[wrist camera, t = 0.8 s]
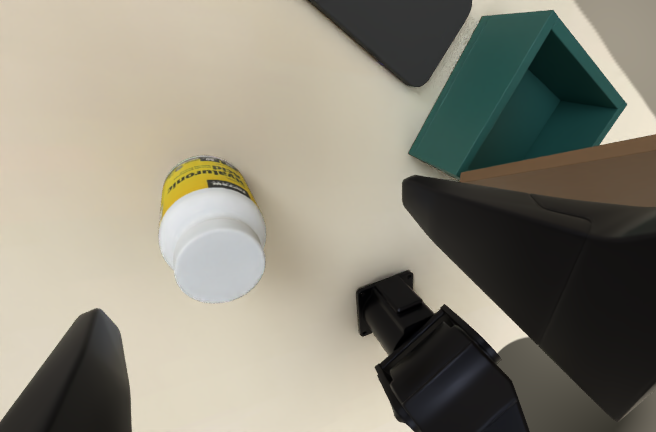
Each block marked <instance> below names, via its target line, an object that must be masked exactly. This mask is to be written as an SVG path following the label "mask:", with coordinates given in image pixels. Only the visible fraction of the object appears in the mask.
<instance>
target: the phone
mask: <svg viewBox="0 0 656 432" xmlns="http://www.w3.org/2000/svg"><path fill="white" fill-rule="evenodd" d="M309 1H310V2H311V3H312V4H313V5H315V6H316V7H317V8H318V9H319V10H320V11H322V12H323V13H324V14H325V15H326V16H327V17H329V18H330V19H331V20H332V21H333V22H334V23H335V24H337V25H338V26H339V27H340V28H341V29H342V30H344V31H345V32H346V33H347V34H348V35H349V36H351V37H352V38H353V39H354V40H355V41H356V42H357V43H359V44H360V45H361V46H362V47H363V48H364V49H366V50H367V51H368V52H369V53H370V54H371V55H373V56H374V57H375V58H376V59H377V60H378V61H380V62H381V63H382V64H383V65H384V66H385V67H386V68H388V69H389V70H390V71H391V72H392V73H393V74H395V75H396V76H397V77H398V78H399V79H400V80H402V81H403V82H404V83H405V84H407V85H409V86H413V87H420V86H422V85H424V84H425V83H426V82H427V81H428V80H429V78H430V77H431V75H432V74H433V72H434V70H435V69H436V67H437V66H438V64H439V62H440V61H441V59H442V58H443V56H444V54H445V53H446V51H447V50H448V48H449V46H450V45H451V43H452V42H453V40H454V38H455V37H456V35H457V33H458V32H459V30H460V29H461V27H462V25H463V24H464V22H465V20H466V19H467V17H468V15H469V13H470V10H471V7H472V0H309Z"/></svg>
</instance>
